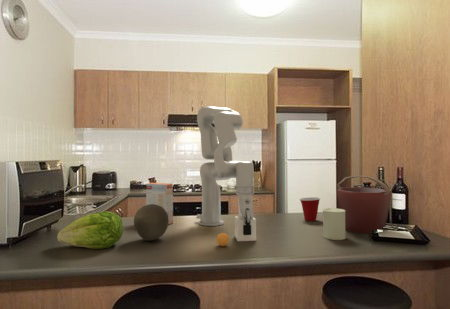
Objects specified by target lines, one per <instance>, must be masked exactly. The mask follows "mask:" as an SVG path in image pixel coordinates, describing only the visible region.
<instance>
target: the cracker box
mask: <svg viewBox="0 0 450 309" xmlns="http://www.w3.org/2000/svg"><path fill="white" fill-rule="evenodd" d="M145 185H146V187H145V190H146V191H145V192H146V194H145V198H146V200H145V201H146V204H145V206H146V205H150V204H156V205H159V206H161V207H163V208H164V209H165V211H166V212H167V214H168V219H169V223H168V226H169V225H172V224H173V223H174V203H173V202H174V200H173V199H174V198H173V197H174V195H173V194H174V189H173V188H174V187H173V186H174V184H173V183H166V182H165V183H163V182H147V183H145Z"/></svg>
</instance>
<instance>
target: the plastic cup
mask: <svg viewBox="0 0 450 309" xmlns="http://www.w3.org/2000/svg"><path fill="white" fill-rule="evenodd" d="M320 200H321V198H320V197H302V198H299V201H300V204H301V206H302V207H301V208H302V213H303V217H304V221H307V222H315V221H317V217H318V212H319V204H320Z"/></svg>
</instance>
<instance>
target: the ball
mask: <svg viewBox="0 0 450 309" xmlns="http://www.w3.org/2000/svg"><path fill="white" fill-rule="evenodd" d="M216 243H217V244H218V246H220V247H226V246H228V244H229V243H230V237H229V235H228V234H227V233H225V232H221V233H219V234H218V235H217V236H216Z"/></svg>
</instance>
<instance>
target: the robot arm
mask: <svg viewBox="0 0 450 309" xmlns="http://www.w3.org/2000/svg"><path fill="white" fill-rule="evenodd" d="M196 122H197V127H198V130H199V132H200V147H201V156H202V158H203V160H204V159H205V160H212V161H209V162H204V163H203V164H201V165H200V168H199V175H200V181H201V213H199V214H198V213H197V214H196V219H199V225H200V226H204V227H217V226H222V225H224V224H225V223H224V220H223V219H221V217H222V214H221V213H222V212H221V210H222V209H221V203H222V202H221V187H220V185H219V184H218V181H228V180H231V179H235V195H237V196H238V216H240V217H241V218H243V219H244V225H243V234H244V235H251V219H250V217H251V218H252V219H253V218H255V216H254V215H255V214H254V201H253V200H254V199H253V198H254V197H253V195H254V194H255V191H254V190H255V188H254V187H255V185H254V184H255V182H254V181H255V180H254V179H255V178H254V176H255V175H254V163H253V162H252V161H245V160H243V161H242V160H233V151H232V146H233V145H235V144H236V143H237V140H238V138H237V134H236V131H235V130H237V131H238V130H240V129H241V128H242V127H243V122H244V120H243V118H242V115H241V113H239V112H237V111H235V110H233V109H232V108H229V107H221V106H210V105H209V106H208V105H207V106H202V107H200V108H199V110H198V111H197V115H196ZM245 219H247V220H246V222H245Z"/></svg>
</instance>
